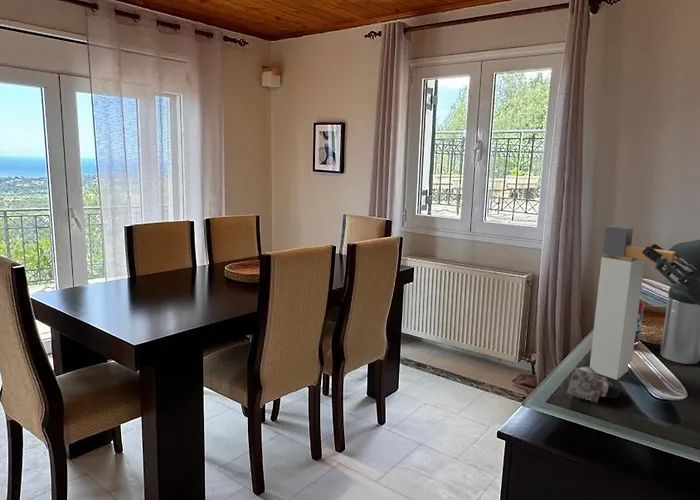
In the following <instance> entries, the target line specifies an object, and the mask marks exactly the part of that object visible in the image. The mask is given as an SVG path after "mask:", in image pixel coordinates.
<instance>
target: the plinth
mask: <svg viewBox="0 0 700 500" xmlns="http://www.w3.org/2000/svg"><path fill="white" fill-rule="evenodd" d="M645 263H646V260H643V259H637V258H631V257H620V256H614V255H608V254H603V253H602V254H601V260H600V269H599V277H598V286H597V297H596V306H595V315H594V325H593V333H592V340H591V341H592V343H591V351H590V362H589V367H590V368H592V369H593V370H594V371H595V373H596V374H598V375H601V376H604V377H606V378H609V379H612V380H619V379H620V378H621V377H622V376H624V375H625V374H626V373H628V372H629V371H628V364H629V363H630V362H631V361H632V362H633V355H634V347H635V346H634V341H635V333H636V325H637V318H638V310H639V302H640V296H641V293H642V286H643V277H644V269H645Z"/></svg>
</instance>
